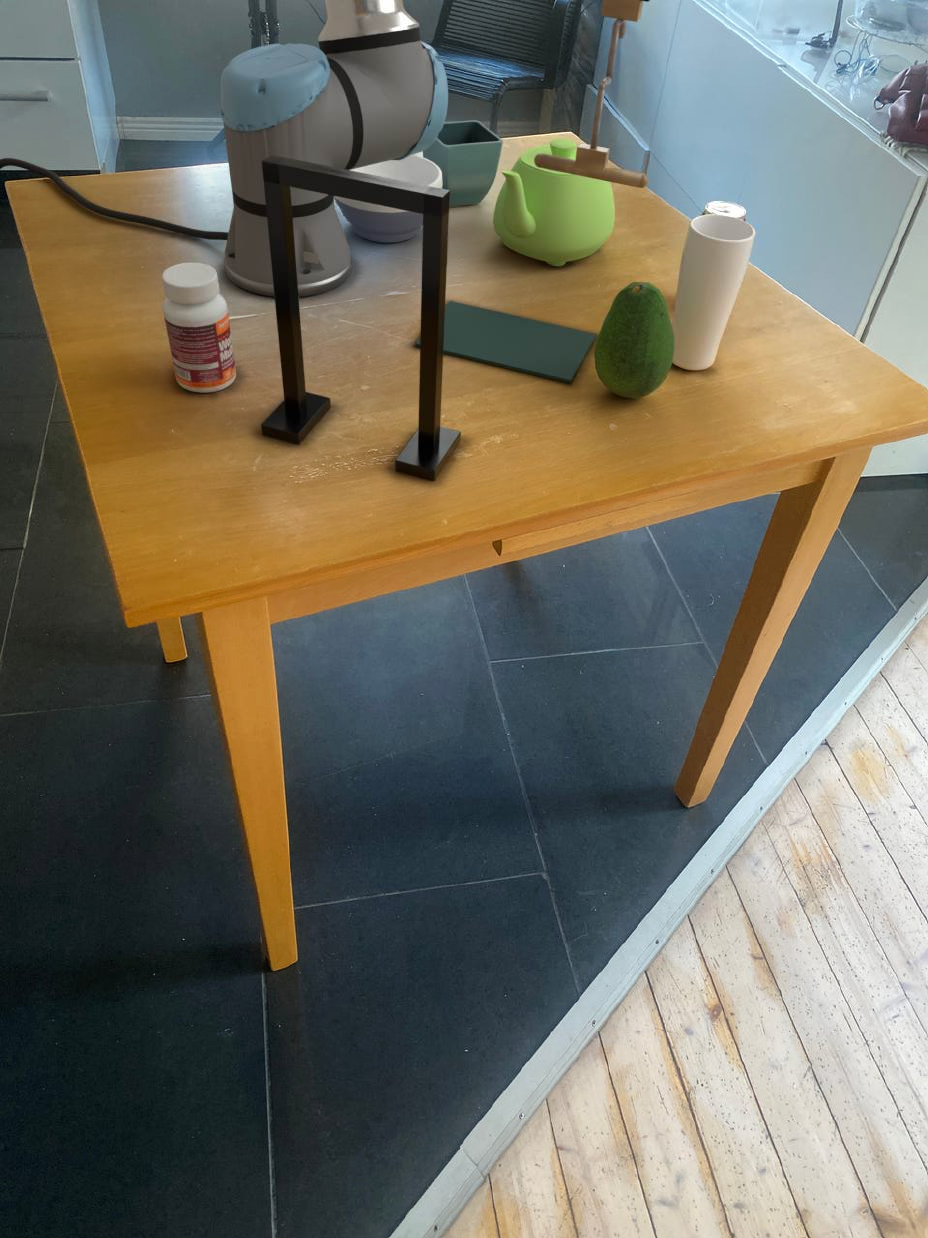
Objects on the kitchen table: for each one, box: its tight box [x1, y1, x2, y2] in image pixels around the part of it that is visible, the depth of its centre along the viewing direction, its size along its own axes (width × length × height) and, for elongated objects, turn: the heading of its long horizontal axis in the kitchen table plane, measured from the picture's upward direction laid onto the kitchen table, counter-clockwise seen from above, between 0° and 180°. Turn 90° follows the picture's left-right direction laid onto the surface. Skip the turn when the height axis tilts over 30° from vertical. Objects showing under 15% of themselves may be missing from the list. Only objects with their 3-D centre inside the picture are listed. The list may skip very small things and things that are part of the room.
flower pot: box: [422, 119, 504, 207], centre depth 131 cm, size 9×9×9 cm
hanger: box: [534, 0, 649, 189], centre depth 81 cm, size 11×6×20 cm, turn 69°
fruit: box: [593, 281, 675, 399], centre depth 96 cm, size 8×8×12 cm
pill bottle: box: [161, 262, 237, 394], centre depth 94 cm, size 6×6×11 cm
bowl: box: [334, 154, 443, 244], centre depth 124 cm, size 14×14×8 cm
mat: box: [414, 300, 598, 384], centre depth 107 cm, size 18×11×1 cm, turn 70°
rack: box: [260, 155, 462, 482], centre depth 84 cm, size 18×7×25 cm, turn 70°
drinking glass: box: [671, 214, 756, 371], centre depth 101 cm, size 7×7×15 cm
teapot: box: [492, 138, 616, 267], centre depth 120 cm, size 22×15×13 cm
